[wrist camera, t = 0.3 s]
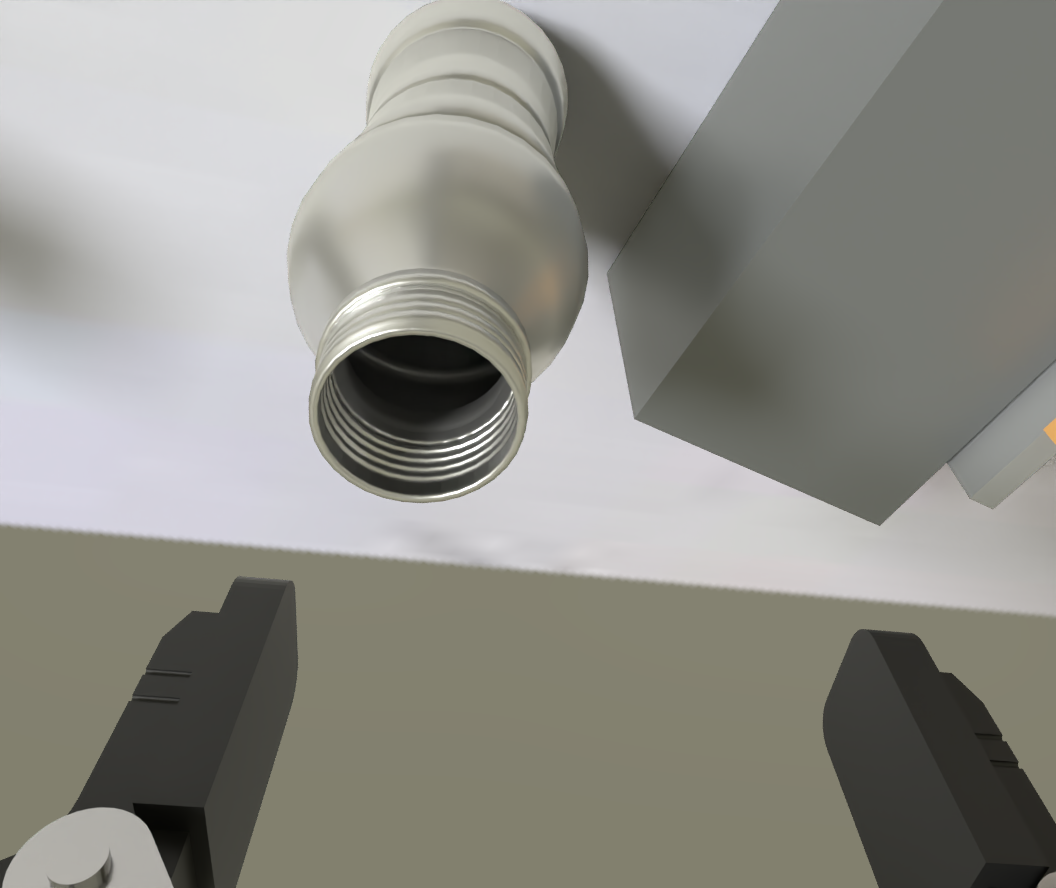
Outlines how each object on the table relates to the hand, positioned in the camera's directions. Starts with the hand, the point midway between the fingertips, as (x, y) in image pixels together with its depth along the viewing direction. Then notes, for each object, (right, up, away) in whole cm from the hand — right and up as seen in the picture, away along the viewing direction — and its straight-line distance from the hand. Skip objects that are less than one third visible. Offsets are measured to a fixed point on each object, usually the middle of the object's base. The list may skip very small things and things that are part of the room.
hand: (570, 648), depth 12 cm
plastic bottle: (-3, +16, +18) cm, 24 cm away
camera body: (+12, +16, +18) cm, 27 cm away
